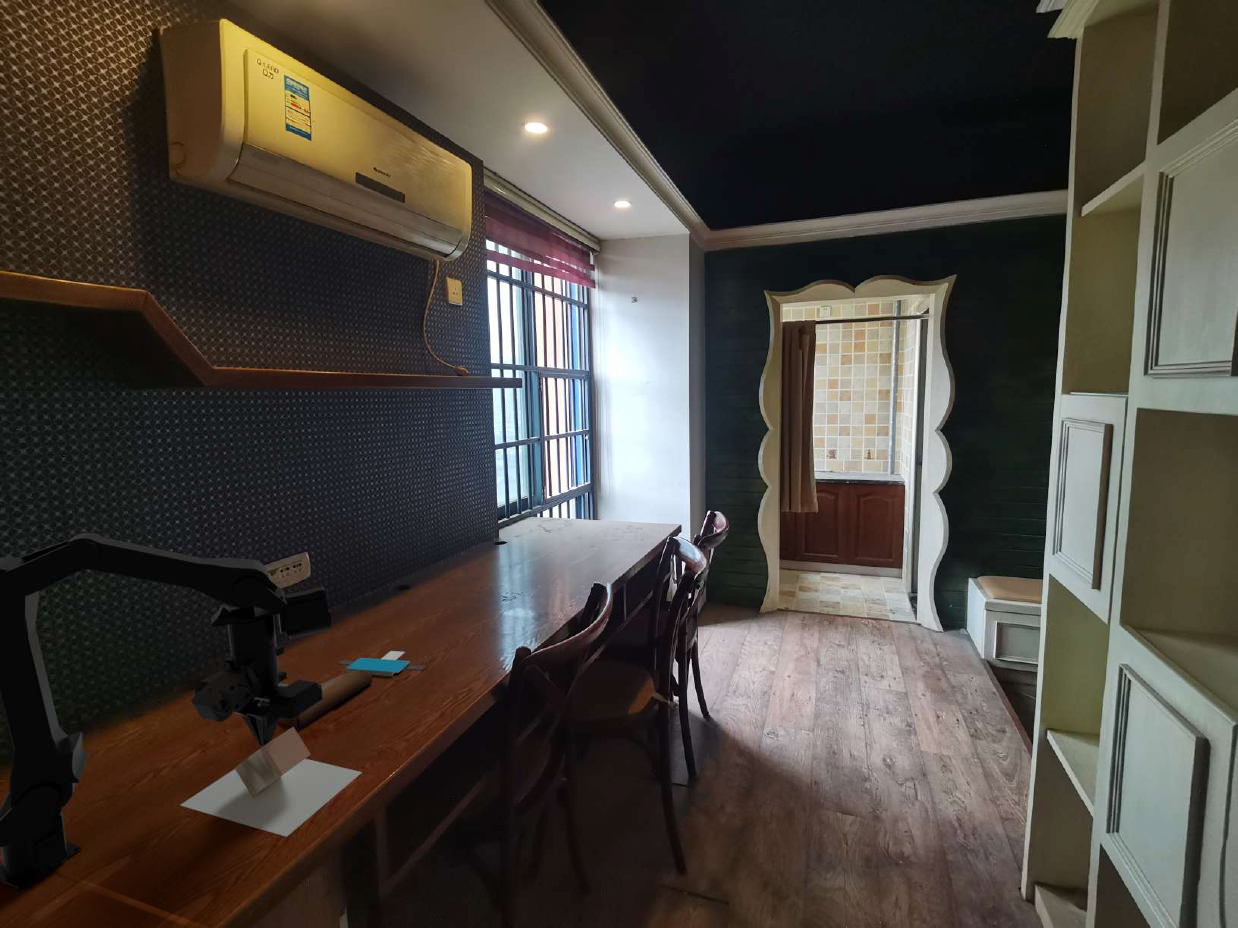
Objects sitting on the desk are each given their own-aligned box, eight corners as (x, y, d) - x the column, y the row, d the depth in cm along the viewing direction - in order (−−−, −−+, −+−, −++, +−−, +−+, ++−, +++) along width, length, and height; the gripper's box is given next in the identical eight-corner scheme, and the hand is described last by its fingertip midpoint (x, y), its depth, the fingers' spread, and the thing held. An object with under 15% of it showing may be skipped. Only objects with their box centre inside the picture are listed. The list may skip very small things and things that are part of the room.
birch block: (234, 767, 87) (264, 745, 84) (264, 748, 92) (293, 726, 89) (252, 796, 86) (282, 774, 84) (281, 775, 91) (310, 754, 89)
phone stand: (438, 657, 134) (438, 650, 134) (412, 682, 122) (411, 675, 122) (358, 651, 137) (358, 644, 137) (325, 675, 125) (324, 668, 125)
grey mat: (180, 807, 85) (179, 805, 85) (265, 751, 98) (265, 748, 98) (286, 839, 79) (286, 836, 79) (362, 774, 92) (362, 772, 92)
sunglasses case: (339, 677, 123) (351, 654, 121) (364, 698, 122) (376, 674, 120) (264, 723, 106) (276, 697, 104) (291, 748, 105) (304, 721, 103)
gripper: (150, 663, 81) (165, 766, 83) (252, 680, 76) (265, 791, 78) (226, 631, 92) (237, 723, 94) (320, 644, 86) (330, 742, 88)
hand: (264, 744), depth 88 cm, fingers closed
